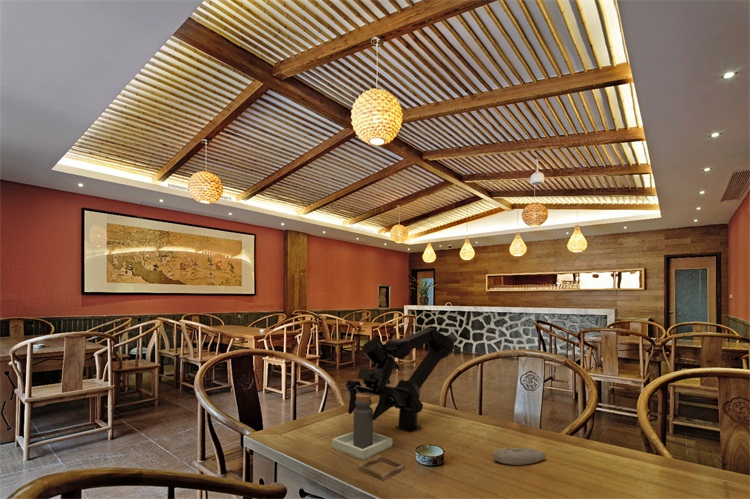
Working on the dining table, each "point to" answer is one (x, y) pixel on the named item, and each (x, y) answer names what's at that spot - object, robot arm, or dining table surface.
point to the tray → (347, 447)
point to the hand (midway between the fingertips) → (360, 416)
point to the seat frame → (378, 475)
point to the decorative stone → (518, 456)
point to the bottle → (363, 421)
